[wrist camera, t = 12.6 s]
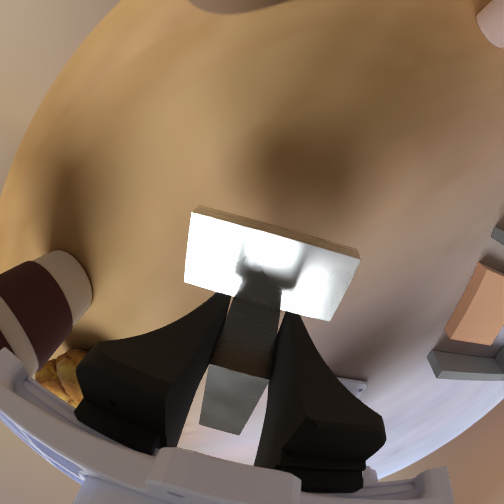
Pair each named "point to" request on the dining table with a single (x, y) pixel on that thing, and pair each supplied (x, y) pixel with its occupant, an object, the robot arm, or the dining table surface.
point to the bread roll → (63, 376)
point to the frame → (469, 357)
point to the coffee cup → (41, 306)
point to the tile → (479, 308)
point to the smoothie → (492, 22)
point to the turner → (258, 300)
